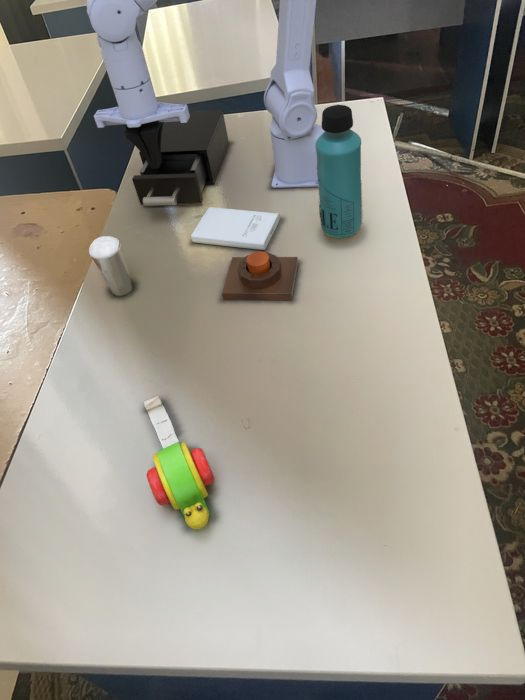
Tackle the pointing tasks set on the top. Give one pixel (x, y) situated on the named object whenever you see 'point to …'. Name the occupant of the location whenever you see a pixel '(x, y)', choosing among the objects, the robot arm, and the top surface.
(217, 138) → the small drawer cabinet
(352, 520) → the top surface
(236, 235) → the hard drive
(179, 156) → the black drawer
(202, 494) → the toy measuring tape
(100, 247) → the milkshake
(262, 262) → the release button
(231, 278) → the control block
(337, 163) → the beverage bottle
